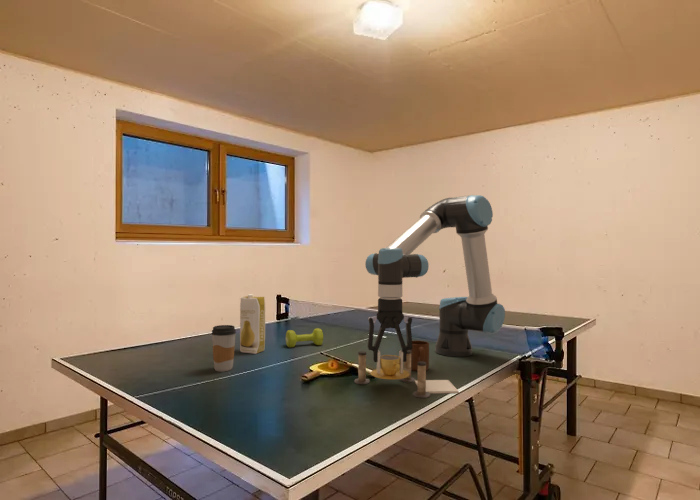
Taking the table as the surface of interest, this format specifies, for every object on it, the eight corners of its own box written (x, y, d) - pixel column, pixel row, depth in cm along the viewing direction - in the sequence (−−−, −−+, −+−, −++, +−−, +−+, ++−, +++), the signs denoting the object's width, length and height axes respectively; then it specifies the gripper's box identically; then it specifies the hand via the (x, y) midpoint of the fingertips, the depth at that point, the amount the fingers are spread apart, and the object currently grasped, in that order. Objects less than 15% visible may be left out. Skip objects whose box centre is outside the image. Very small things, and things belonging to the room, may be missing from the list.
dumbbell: (319, 342, 197) (319, 327, 197) (324, 346, 189) (324, 330, 189) (284, 345, 191) (284, 329, 191) (288, 349, 183) (288, 332, 183)
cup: (363, 372, 135) (363, 355, 135) (395, 367, 140) (395, 351, 140) (383, 382, 124) (383, 364, 124) (417, 377, 129) (417, 359, 129)
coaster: (448, 381, 139) (448, 379, 139) (458, 393, 128) (458, 391, 128) (414, 382, 138) (414, 380, 138) (422, 393, 127) (422, 391, 127)
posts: (417, 377, 143) (418, 349, 143) (431, 398, 123) (432, 364, 123) (353, 378, 142) (353, 349, 142) (357, 398, 122) (357, 365, 122)
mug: (433, 375, 146) (434, 347, 146) (411, 375, 146) (411, 347, 146) (426, 365, 158) (426, 340, 158) (406, 365, 158) (406, 340, 158)
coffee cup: (240, 367, 154) (240, 325, 154) (226, 373, 146) (226, 329, 146) (220, 365, 157) (221, 324, 157) (206, 371, 149) (206, 328, 149)
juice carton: (237, 352, 176) (237, 294, 176) (248, 348, 183) (249, 292, 183) (256, 354, 172) (256, 295, 172) (267, 350, 180) (267, 293, 180)
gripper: (418, 296, 137) (418, 368, 137) (358, 296, 136) (357, 369, 136) (423, 299, 129) (423, 375, 129) (359, 299, 128) (359, 376, 128)
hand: (389, 372), depth 132 cm, fingers closed on cup, 6 cm apart
